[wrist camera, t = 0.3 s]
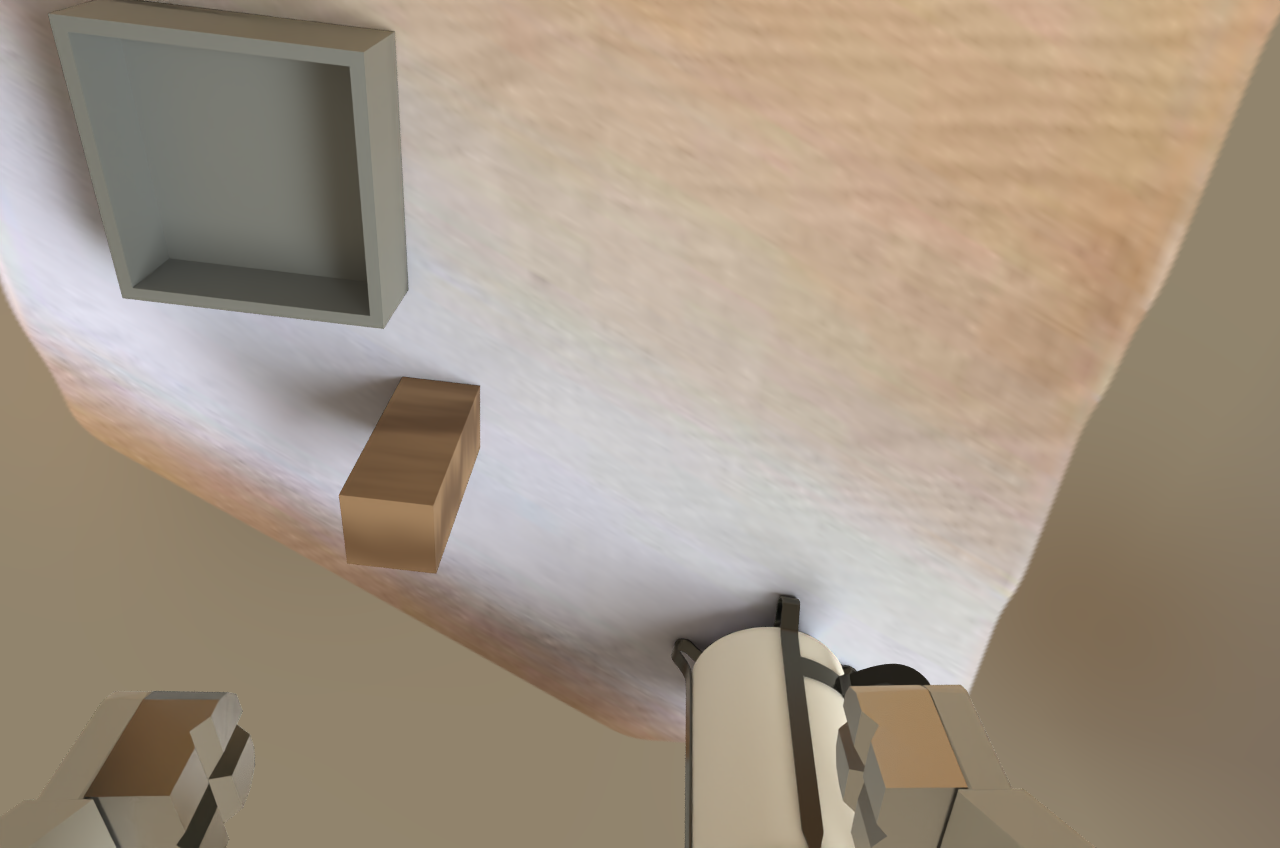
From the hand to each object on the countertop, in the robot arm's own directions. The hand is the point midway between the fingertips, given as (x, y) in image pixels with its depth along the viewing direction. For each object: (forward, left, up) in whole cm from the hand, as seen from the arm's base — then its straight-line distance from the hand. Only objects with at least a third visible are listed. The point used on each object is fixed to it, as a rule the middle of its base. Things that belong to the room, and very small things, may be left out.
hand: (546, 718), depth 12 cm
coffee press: (+42, +15, -39) cm, 59 cm away
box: (+7, -20, -39) cm, 45 cm away
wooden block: (+23, -11, -39) cm, 47 cm away
